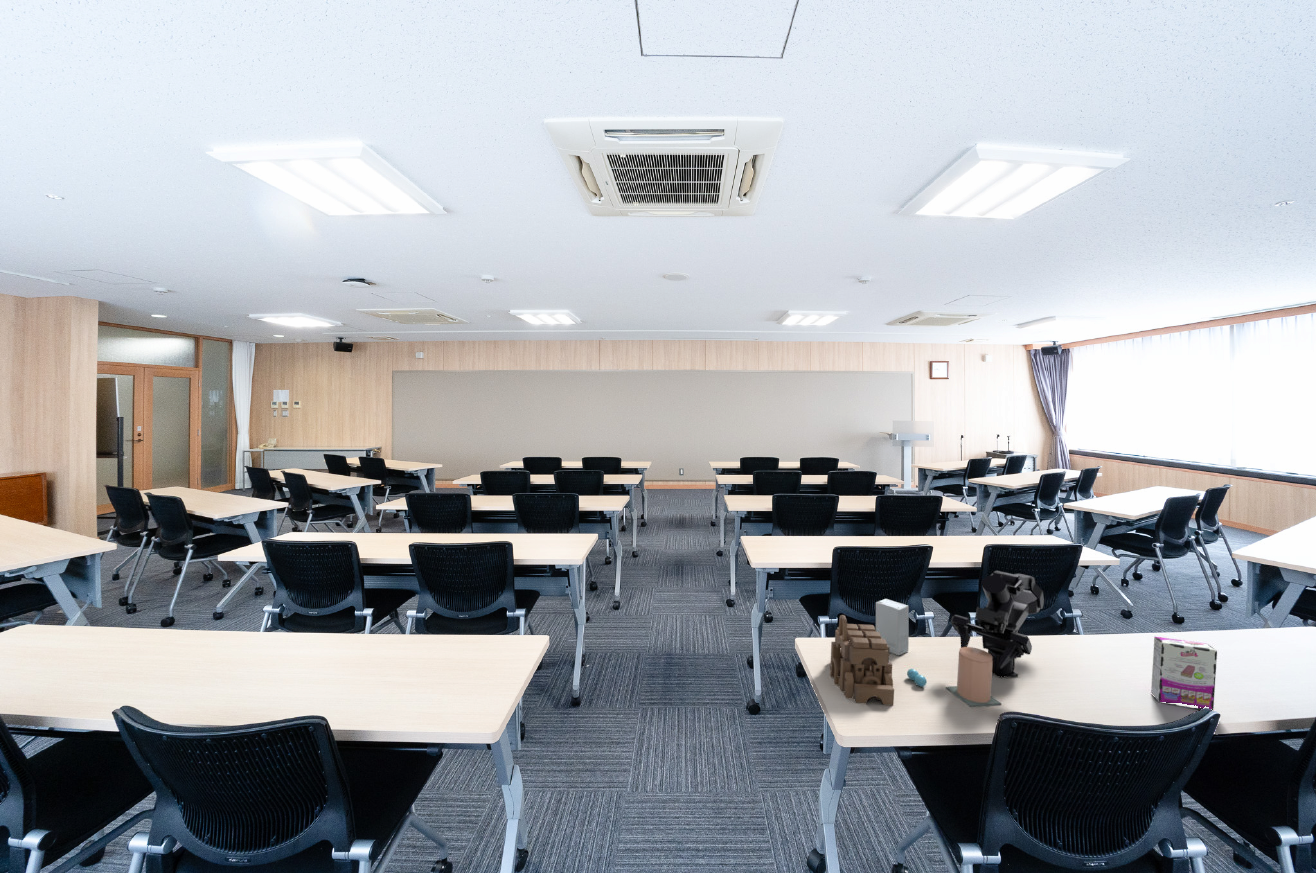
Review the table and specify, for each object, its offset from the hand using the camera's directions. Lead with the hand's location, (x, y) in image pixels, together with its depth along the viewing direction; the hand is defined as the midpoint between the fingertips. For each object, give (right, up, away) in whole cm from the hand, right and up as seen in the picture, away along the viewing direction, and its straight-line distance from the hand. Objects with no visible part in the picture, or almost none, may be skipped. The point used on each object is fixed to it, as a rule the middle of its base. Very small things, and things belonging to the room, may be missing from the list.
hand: (980, 661), depth 142 cm
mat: (-3, -8, -2) cm, 9 cm away
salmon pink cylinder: (-3, -8, -2) cm, 9 cm away
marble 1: (-16, -8, +6) cm, 18 cm away
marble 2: (-15, -8, +2) cm, 17 cm away
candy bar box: (+51, -10, -3) cm, 52 cm away
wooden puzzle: (-31, -8, +4) cm, 33 cm away
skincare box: (-13, -7, +25) cm, 29 cm away
